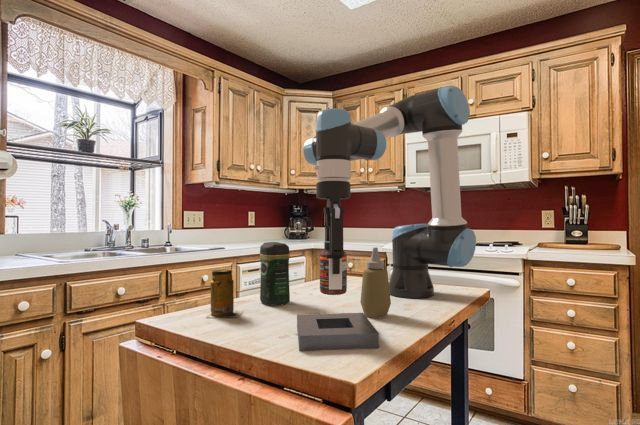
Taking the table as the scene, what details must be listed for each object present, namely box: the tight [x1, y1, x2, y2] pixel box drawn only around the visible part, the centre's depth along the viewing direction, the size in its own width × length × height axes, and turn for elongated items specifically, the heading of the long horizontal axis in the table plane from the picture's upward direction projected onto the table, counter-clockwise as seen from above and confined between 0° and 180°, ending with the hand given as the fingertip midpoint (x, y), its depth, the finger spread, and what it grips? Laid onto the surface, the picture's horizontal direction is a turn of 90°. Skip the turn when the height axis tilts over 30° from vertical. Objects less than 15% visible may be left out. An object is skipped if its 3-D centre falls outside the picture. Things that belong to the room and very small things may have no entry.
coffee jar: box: [259, 241, 291, 307], centre depth 117 cm, size 10×8×19 cm
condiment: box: [206, 268, 244, 319], centre depth 104 cm, size 7×8×12 cm
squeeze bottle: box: [359, 247, 392, 319], centre depth 102 cm, size 8×8×18 cm
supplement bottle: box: [319, 240, 348, 296], centre depth 85 cm, size 6×6×11 cm
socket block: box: [296, 312, 380, 352], centre depth 85 cm, size 16×16×3 cm
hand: (333, 286), depth 85 cm, fingers closed on supplement bottle, 6 cm apart
